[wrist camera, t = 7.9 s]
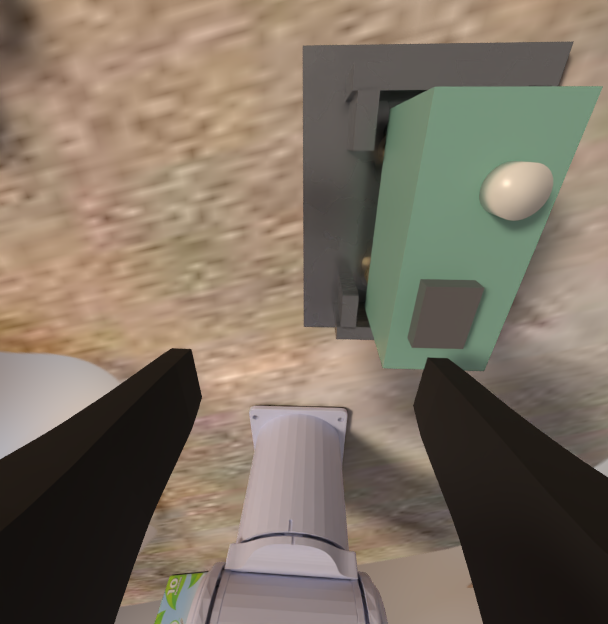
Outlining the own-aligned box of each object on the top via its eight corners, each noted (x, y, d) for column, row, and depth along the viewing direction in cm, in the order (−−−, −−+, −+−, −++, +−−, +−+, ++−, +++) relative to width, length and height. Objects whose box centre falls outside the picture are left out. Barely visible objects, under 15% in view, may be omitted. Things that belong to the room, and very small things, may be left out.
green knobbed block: (437, 309, 16) (494, 385, 11) (364, 307, 16) (387, 382, 11) (492, 109, 11) (635, 79, 6) (389, 109, 11) (447, 79, 6)
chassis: (468, 324, 19) (497, 358, 16) (304, 321, 20) (302, 354, 17) (562, 45, 12) (644, 13, 9) (303, 49, 13) (299, 19, 10)
